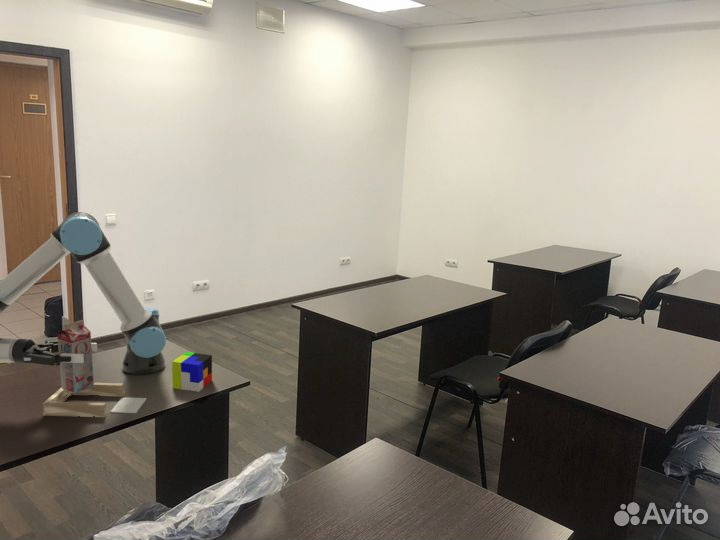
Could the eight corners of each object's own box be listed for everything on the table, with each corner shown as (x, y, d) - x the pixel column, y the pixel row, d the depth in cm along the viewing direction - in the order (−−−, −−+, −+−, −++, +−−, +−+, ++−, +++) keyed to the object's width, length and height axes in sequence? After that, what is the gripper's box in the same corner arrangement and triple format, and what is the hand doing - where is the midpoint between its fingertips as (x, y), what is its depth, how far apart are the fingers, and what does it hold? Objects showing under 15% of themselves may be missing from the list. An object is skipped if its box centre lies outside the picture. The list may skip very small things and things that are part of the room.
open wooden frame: (68, 392, 183) (67, 381, 182) (124, 394, 184) (123, 383, 183) (43, 415, 167) (42, 403, 166) (104, 417, 168) (103, 405, 167)
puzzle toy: (198, 392, 189) (198, 365, 187) (172, 388, 191) (172, 361, 189) (212, 380, 199) (211, 355, 196) (187, 377, 200) (186, 351, 198)
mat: (122, 398, 181) (122, 397, 181) (146, 399, 181) (146, 398, 181) (110, 412, 171) (110, 411, 171) (135, 413, 172) (135, 412, 171)
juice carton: (93, 386, 175) (89, 321, 171) (74, 393, 170) (70, 327, 165) (80, 381, 178) (76, 317, 174) (61, 388, 173) (56, 323, 168)
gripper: (36, 349, 182) (104, 351, 183) (-3, 375, 161) (74, 377, 162) (34, 328, 180) (103, 330, 182) (-6, 352, 159) (73, 354, 160)
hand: (89, 352), depth 172 cm, fingers closed on juice carton, 9 cm apart
